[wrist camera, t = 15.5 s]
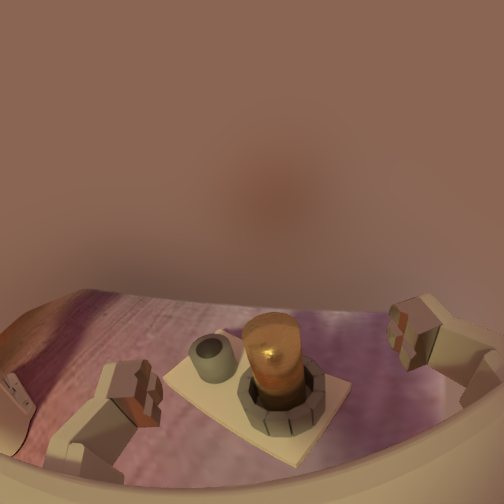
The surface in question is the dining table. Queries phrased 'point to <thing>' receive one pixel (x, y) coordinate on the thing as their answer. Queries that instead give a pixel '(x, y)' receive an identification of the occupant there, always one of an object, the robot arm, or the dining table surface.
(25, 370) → the dining table surface
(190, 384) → the fitting plate
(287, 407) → the amber cylinder
